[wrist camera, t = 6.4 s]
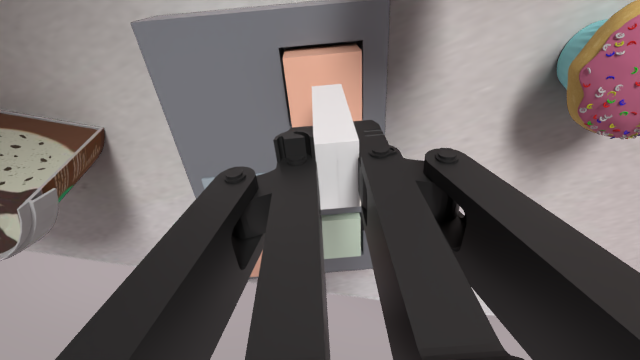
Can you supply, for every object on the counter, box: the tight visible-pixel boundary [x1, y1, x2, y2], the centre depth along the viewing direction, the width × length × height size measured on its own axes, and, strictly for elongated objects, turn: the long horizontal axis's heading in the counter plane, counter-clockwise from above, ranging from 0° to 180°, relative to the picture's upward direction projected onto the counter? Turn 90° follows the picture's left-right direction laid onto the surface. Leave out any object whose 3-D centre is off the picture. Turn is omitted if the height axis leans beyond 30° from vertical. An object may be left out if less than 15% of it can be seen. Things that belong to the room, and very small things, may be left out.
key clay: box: [283, 43, 362, 127], centre depth 19 cm, size 4×4×2 cm
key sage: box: [321, 212, 361, 259], centre depth 27 cm, size 4×4×2 cm
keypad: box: [131, 0, 390, 279], centre depth 24 cm, size 22×14×4 cm, turn 5°
